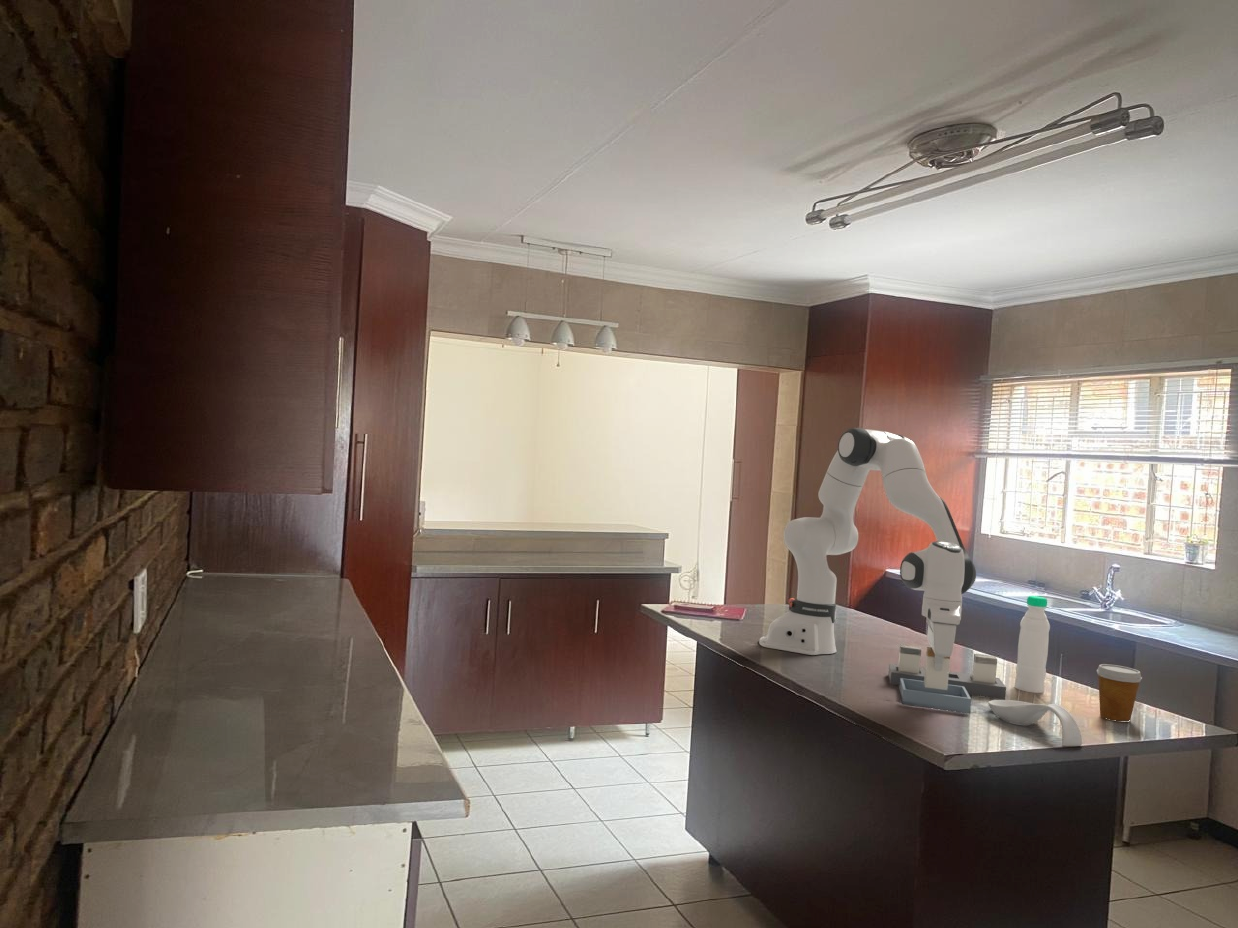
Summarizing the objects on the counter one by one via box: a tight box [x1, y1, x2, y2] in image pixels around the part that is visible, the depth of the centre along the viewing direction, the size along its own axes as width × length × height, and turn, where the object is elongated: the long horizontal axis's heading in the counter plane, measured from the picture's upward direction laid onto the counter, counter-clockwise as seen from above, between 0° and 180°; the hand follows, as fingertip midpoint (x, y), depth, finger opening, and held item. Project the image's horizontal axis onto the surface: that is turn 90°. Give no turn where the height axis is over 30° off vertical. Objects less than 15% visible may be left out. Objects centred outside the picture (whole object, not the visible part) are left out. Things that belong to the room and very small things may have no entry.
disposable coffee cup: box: [1096, 663, 1143, 721], centre depth 214 cm, size 10×10×12 cm
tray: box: [898, 678, 972, 714], centre depth 215 cm, size 15×12×4 cm
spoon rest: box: [987, 699, 1083, 747], centre depth 200 cm, size 24×12×7 cm, turn 16°
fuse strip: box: [888, 663, 1007, 700], centre depth 228 cm, size 27×10×4 cm, turn 76°
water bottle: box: [1014, 595, 1051, 694], centre depth 233 cm, size 7×7×25 cm
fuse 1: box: [897, 644, 922, 673], centre depth 230 cm, size 5×4×9 cm
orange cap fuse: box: [924, 646, 951, 690], centre depth 215 cm, size 5×4×9 cm
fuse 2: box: [972, 653, 998, 683], centre depth 226 cm, size 5×4×9 cm
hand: (936, 667), depth 215 cm, fingers closed on orange cap fuse, 3 cm apart
